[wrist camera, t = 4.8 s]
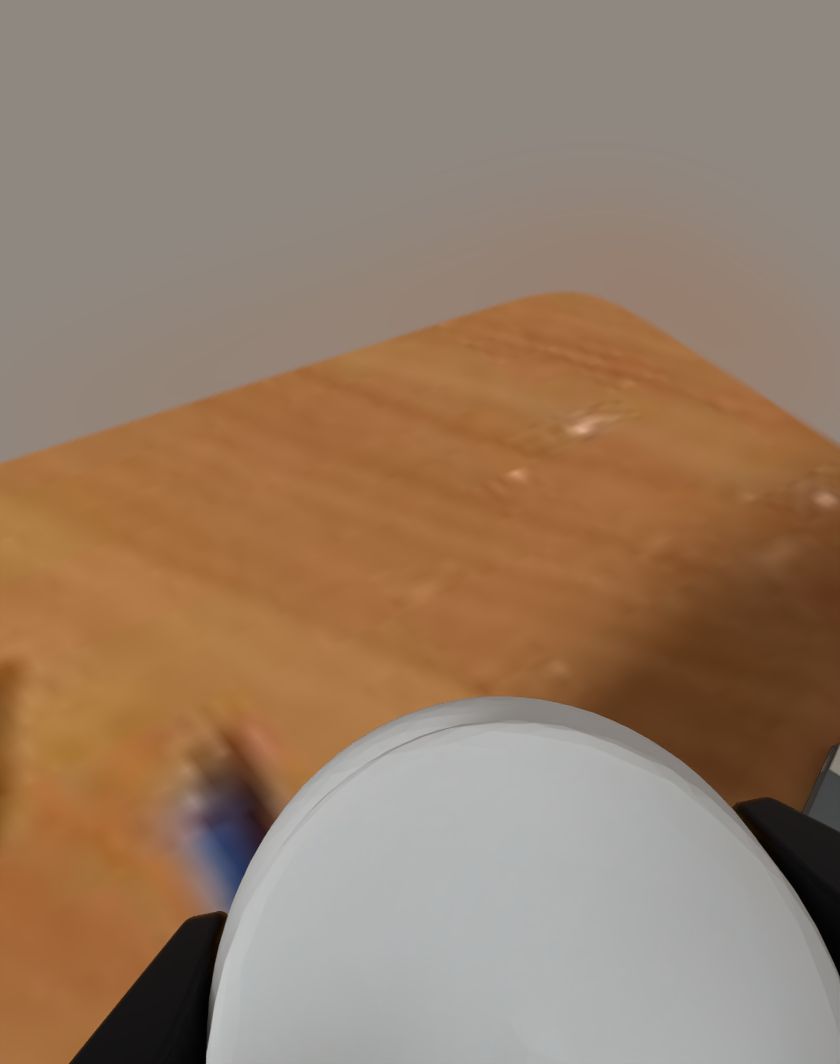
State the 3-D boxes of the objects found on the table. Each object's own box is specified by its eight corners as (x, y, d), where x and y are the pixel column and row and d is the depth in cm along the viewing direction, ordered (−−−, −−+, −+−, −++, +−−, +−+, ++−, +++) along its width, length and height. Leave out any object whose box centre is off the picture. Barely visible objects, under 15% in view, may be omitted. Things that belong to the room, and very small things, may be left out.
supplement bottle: (401, 759, 15) (289, 528, 6) (670, 848, 14) (1038, 733, 5) (297, 1069, 13) (-153, 1469, 4) (612, 1210, 11) (1127, 2323, 2)
